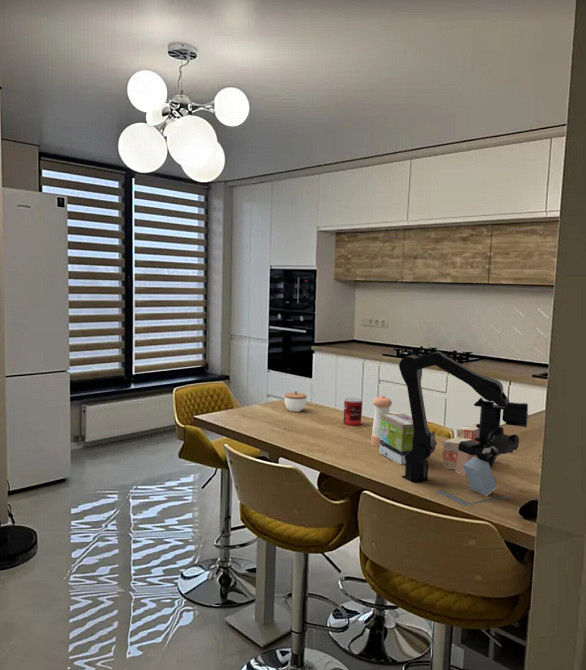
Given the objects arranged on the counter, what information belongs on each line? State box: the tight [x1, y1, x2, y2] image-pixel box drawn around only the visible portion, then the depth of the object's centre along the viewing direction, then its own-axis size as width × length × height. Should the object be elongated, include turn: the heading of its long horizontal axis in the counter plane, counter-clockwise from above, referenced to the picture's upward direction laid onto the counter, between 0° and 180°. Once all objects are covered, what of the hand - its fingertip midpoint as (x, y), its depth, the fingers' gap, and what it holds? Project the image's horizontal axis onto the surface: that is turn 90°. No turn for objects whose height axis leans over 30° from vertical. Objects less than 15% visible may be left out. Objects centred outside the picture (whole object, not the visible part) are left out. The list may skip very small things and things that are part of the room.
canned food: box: [343, 397, 363, 427], centre depth 250 cm, size 8×8×11 cm
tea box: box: [379, 413, 414, 465], centre depth 200 cm, size 15×10×15 cm
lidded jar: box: [284, 390, 307, 413], centre depth 272 cm, size 11×11×9 cm
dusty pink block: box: [454, 448, 478, 477], centre depth 185 cm, size 4×6×9 cm
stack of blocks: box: [442, 424, 486, 471], centre depth 196 cm, size 21×6×12 cm, turn 133°
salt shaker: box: [370, 395, 393, 447], centre depth 217 cm, size 7×7×19 cm
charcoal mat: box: [434, 489, 510, 507], centre depth 166 cm, size 18×12×1 cm, turn 117°
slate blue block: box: [463, 457, 498, 497], centre depth 167 cm, size 4×6×9 cm
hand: (486, 473), depth 168 cm, fingers closed
